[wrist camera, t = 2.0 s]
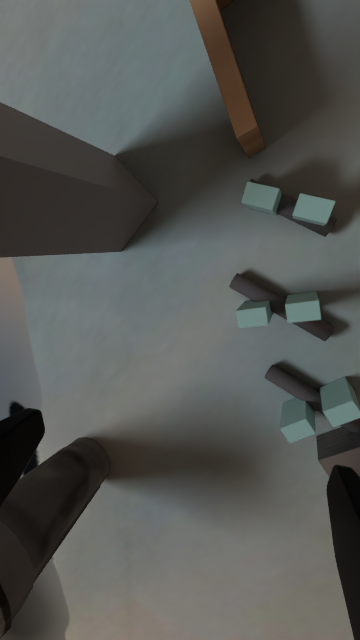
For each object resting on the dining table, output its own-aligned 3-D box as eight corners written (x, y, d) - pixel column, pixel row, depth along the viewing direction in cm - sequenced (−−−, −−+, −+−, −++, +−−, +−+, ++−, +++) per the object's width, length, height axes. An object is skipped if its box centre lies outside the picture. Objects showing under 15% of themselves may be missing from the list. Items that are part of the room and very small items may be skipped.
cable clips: (325, 169, 16) (329, 154, 13) (357, 415, 18) (367, 445, 15) (225, 200, 18) (212, 192, 15) (266, 415, 20) (260, 442, 18)
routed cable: (495, 295, 14) (508, 299, 14) (362, 433, 18) (365, 443, 17) (253, 180, 17) (250, 177, 16) (181, 322, 21) (176, 325, 20)
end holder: (441, 52, 13) (485, -7, 10) (248, 157, 17) (236, 138, 14) (386, -154, 12) (415, -289, 9) (196, 5, 16) (171, -52, 13)
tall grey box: (160, 201, 20) (-48, 140, 8) (121, 253, 22) (-92, 265, 10) (114, 153, 20) (-150, 26, 8) (79, 208, 22) (-172, 169, 10)
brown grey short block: (390, 460, 18) (402, 490, 16) (342, 474, 19) (347, 503, 17) (362, 419, 18) (370, 443, 16) (316, 436, 19) (318, 460, 17)
